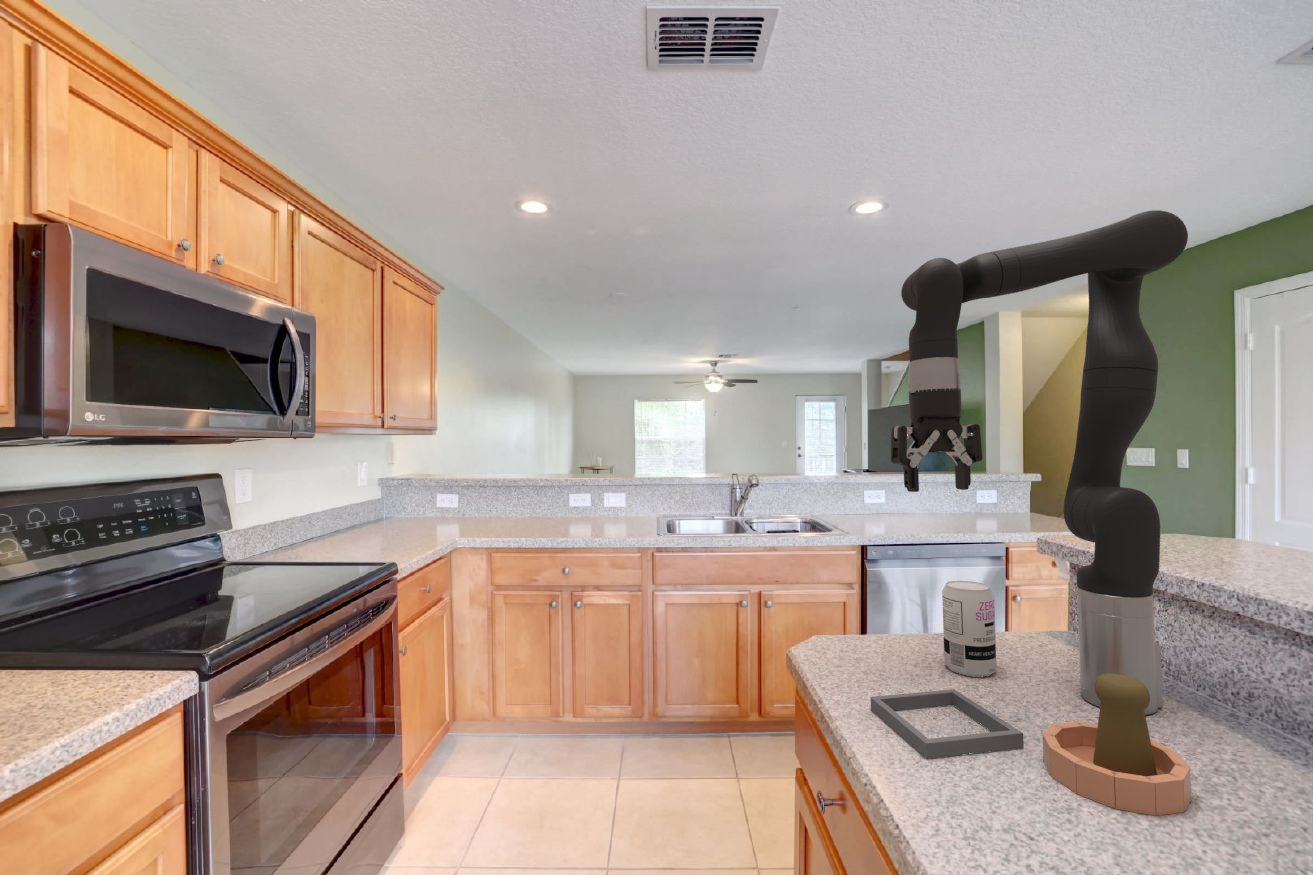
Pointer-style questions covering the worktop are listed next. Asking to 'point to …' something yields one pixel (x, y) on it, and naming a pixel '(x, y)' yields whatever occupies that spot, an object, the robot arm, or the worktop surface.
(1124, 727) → the olive pestle
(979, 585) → the supplement can
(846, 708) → the worktop surface
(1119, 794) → the bowl
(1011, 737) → the rectangular frame
